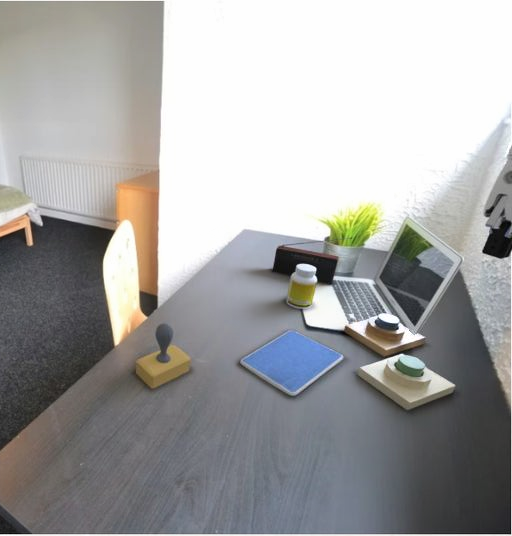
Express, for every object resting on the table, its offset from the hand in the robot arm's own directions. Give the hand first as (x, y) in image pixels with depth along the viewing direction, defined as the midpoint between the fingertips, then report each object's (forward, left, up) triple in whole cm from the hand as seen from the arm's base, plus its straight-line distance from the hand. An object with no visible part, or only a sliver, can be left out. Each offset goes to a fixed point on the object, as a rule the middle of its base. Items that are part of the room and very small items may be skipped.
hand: (494, 255), depth 67 cm
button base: (+4, -11, -25) cm, 27 cm away
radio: (-3, -41, -25) cm, 48 cm away
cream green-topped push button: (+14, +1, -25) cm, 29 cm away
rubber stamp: (+56, -19, -25) cm, 64 cm away
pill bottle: (+10, -30, -25) cm, 40 cm away
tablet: (+29, -12, -25) cm, 40 cm away
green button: (+14, +1, -21) cm, 25 cm away
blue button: (+4, -11, -21) cm, 24 cm away
